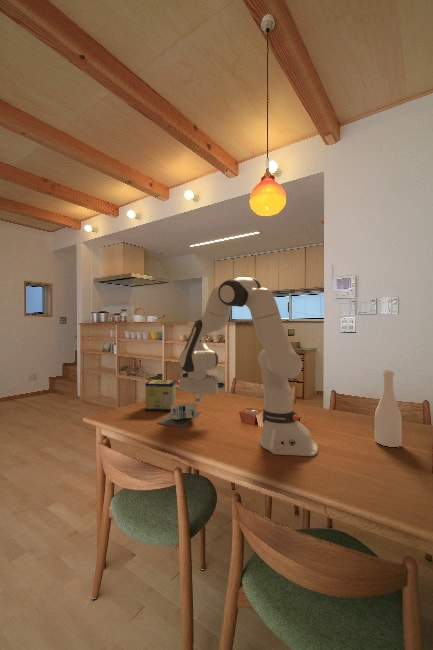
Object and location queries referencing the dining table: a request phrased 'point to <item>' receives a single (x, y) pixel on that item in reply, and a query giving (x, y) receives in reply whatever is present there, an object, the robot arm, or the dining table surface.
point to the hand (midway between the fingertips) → (198, 401)
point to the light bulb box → (183, 411)
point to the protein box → (160, 395)
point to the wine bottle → (388, 415)
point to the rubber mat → (176, 421)
